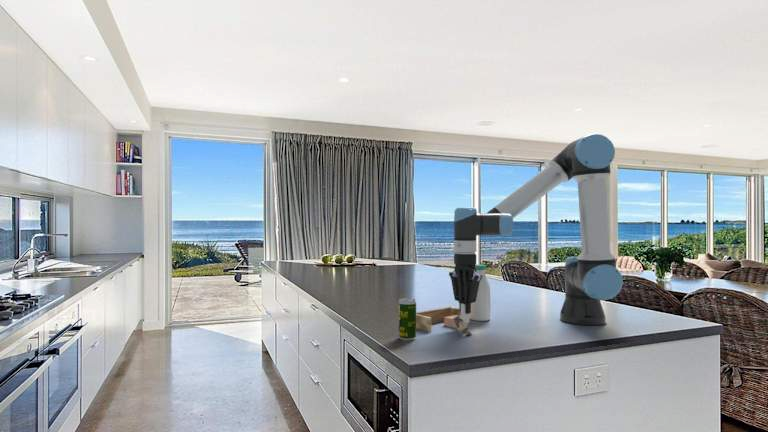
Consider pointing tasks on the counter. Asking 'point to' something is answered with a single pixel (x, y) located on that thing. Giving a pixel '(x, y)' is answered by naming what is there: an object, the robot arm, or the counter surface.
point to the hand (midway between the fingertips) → (465, 322)
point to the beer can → (407, 319)
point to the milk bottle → (481, 297)
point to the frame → (434, 317)
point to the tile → (451, 321)
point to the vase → (461, 326)
